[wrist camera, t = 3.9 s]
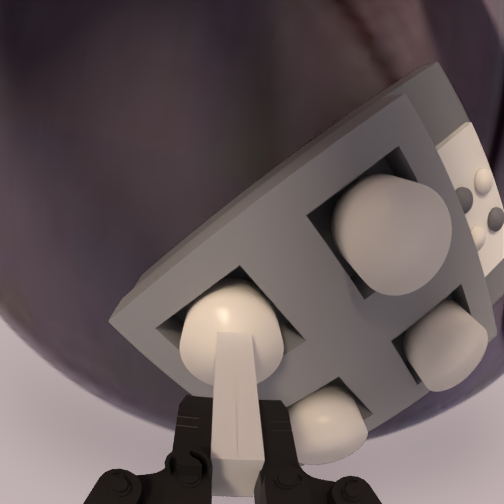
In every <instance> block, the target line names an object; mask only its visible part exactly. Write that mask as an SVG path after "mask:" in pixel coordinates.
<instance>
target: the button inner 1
mask: <svg viewBox="0 0 504 504" xmlns="http://www.w3.org/2000/svg"><path fill="white" fill-rule="evenodd" d="M217 331H219V332H231V333H244V334H252V343H253V353H254V363H255V373H256V382H257V384H258V383H260V382H261V381H263V380H265V379H266V378H268V377H269V376H270V375H271V374H272V373H273V372H274V371H275V370H276V369H277V367H278V366H279V364H280V362H281V360H282V357H283V352H284V344H283V339H282V335H281V331H280V327H279V323H278V319H277V315H276V310H275V307H274V304H273V302H272V301H271V300H270V299H269V298H268V297H267V296H266V294H265V293H264V292H263V291H262V290H261V289H260V288H259V286H258V285H256V284H254V283H252V282H250V281H247V280H243V279H237V278H225V279H221V280H219V281H218V282H217V283H215V284H214V285H213V286H211V287H210V288H209V289H207V290H206V291H204V292H203V293H202V294H200V295H199V296H198V297H196V298H195V299H194V300H192V301H191V302H190V303H189V306H188V310H187V314H186V318H185V322H184V327H183V331H182V335H181V340H180V347H179V348H180V355H181V359H182V361H183V363H184V365H185V366H186V368H187V369H188V370H189V372H190V373H191V374H193V375H194V376H195V377H196V378H198V379H199V380H201V381H202V382H204V383H207V384H209V385H212V386H213V381H214V367H215V354H216V342H217Z"/></svg>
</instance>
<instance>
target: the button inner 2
mask: <svg viewBox="0 0 504 504" xmlns="http://www.w3.org/2000/svg"><path fill="white" fill-rule="evenodd" d="M331 230H332V236H333V240H334V243H335V245H336V248H337V249H338V251H339V253H340V254H341V255H342V256H343V257H344V259H345V260H346V261H347V262H348V263H349V264H350V265H351V267H352V268H353V269H354V270H355V271H356V272H357V274H358V275H359V276H360V277H361V278H362V279H363V281H364V282H365V283H366V284H367V285H368V286H369V287H370V288H372V289H373V290H375V291H377V292H379V293H381V294H385V295H391V296H398V295H404V294H408V293H411V292H413V291H415V290H417V289H419V288H421V287H422V286H424V285H425V284H426V283H428V282H429V281H430V280H431V279H432V278H433V277H434V276H435V274H436V273H437V272H438V271H439V269H440V268H441V266H442V264H443V263H444V261H445V259H446V256H447V254H448V251H449V248H450V243H451V237H452V224H451V218H450V213H449V211H448V208H447V206H446V204H445V202H444V201H443V199H442V198H441V196H440V195H439V194H438V193H437V192H435V191H434V190H433V189H432V188H430V187H428V186H426V185H423V184H420V183H417V182H413V181H410V180H407V179H403V178H400V177H396V176H393V175H389V174H384V173H373V174H368V175H365V176H362V177H360V178H358V179H357V180H355V181H354V182H352V183H351V184H350V185H349V186H348V187H347V188H346V189H345V190H344V191H343V193H342V194H341V195H340V197H339V199H338V201H337V203H336V205H335V208H334V211H333V215H332V222H331Z"/></svg>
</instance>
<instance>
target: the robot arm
mask: <svg viewBox="0 0 504 504" xmlns="http://www.w3.org/2000/svg"><path fill="white" fill-rule="evenodd" d="M253 494H254V498H255V504H382V503H381V502H380V500H379V499H378V497H377V496H376V494H375V493H374V491H373V490H372V488H371V487H370V485H369V484H368V483H367V482H366V481H365V480H363V479H361V478H359V477H355V476H347V477H343V478H341V479H339V480H338V481H336V482H333V481H326V480H321V479H317V478H313V477H311V476H309V475H308V474H306V473H305V472H304V471H303V470H302V468H301V467H300V465H299V462H298V458H297V452H296V447H295V442H294V437H293V432H292V427H291V423H290V417H289V412H288V409H287V408H286V406H285V405H284V404H283V402H282V401H281V400H258V392H257V382H256V373H255V363H254V353H253V343H252V334H244V333H231V332H219V331H217V342H216V354H215V367H214V381H213V398H211V397H200V396H190V395H186V396H185V398H184V399H183V400H182V402H181V403H180V404H179V410H178V417H177V423H176V430H175V436H174V443H173V450H172V452H171V453H170V454H169V455H168V456H167V458H166V460H165V468H164V469H163V470H162V471H160V472H157V473H153V474H146V475H134V474H133V473H131V472H129V471H127V470H123V469H112V470H109V471H107V472H105V473H104V474H103V475H102V476H101V477H100V478H99V480H98V481H97V483H96V484H95V486H94V488H93V489H92V491H91V492H90V494H89V496H88V497H87V499H86V500H85V502H84V504H211V501H212V500H211V499H212V496H231V497H232V496H233V497H253Z"/></svg>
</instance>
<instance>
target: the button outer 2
mask: <svg viewBox="0 0 504 504" xmlns="http://www.w3.org/2000/svg"><path fill="white" fill-rule="evenodd" d="M487 343H488V334H487V331H486V329H485V328H484V327H483V326H482V325H481V324H480V323H478V322H477V321H476V320H475V319H474V318H473V317H472V316H471V315H470V314H469V313H467V312H466V311H465V310H464V309H463V308H462V307H461V306H460V305H458V304H457V303H456V302H454V301H452V300H442V301H441V302H440V303H439V304H437V305H436V306H435V307H434V308H433V309H431V310H430V311H429V312H428V313H427V314H425V315H424V316H423V317H422V318H420V319H419V320H418V321H417V322H415V323H414V324H413V325H411V326H410V327H409V328H408V329H407V332H406V334H405V337H404V340H403V352H404V355H405V357H406V358H407V360H408V361H409V362H410V364H411V365H412V367H413V368H414V370H415V371H416V373H417V374H418V376H419V377H420V378H421V380H422V381H423V383H424V384H425V386H426V387H427V388H428V389H429V390H431V391H435V392H439V391H444V390H447V389H450V388H452V387H454V386H455V385H457V384H459V383H460V382H461V381H463V380H464V379H465V378H466V377H467V376H469V375H470V373H471V372H472V371H473V370H474V369H475V368H476V366H477V365H478V364H479V362H480V361H481V359H482V357H483V355H484V353H485V350H486V347H487Z"/></svg>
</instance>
